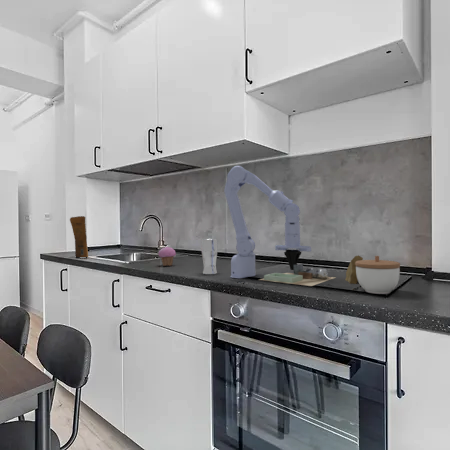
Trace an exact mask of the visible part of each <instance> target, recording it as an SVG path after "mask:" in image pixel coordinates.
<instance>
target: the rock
mask: <svg viewBox="0 0 450 450" xmlns="http://www.w3.org/2000/svg"><path fill="white" fill-rule="evenodd" d="M360 260H364V258H363V257H362V256H361V255H359V254H358V255H355V256H354V257H353V258H352V259H351V260H350V262H349V265H348V267H347V269H346V272H345V281H346V282H348V283H349V284H351V285H357V284H358V283H359V282H358V280H357V275H356V265H355V262H356V261H360Z"/></svg>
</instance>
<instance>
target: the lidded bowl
mask: <svg viewBox="0 0 450 450" xmlns="http://www.w3.org/2000/svg"><path fill="white" fill-rule="evenodd" d="M355 265H356V275H357V280H358V282H357V283H358V284H359V285H360V287H361V288H362V289H364V291H365V292H366V293H367V294H368V293H369V294H376V295H387V294H391V292H392V291H393V290H394V289H395V288H396V287H397V285H398V283H399V280H400V275H401V274H400V273H401V270H400V269H401V262H398V261H395V260H388V259H387V260H385V259H380V255H375V256H374V259H363V260H360V261H356V262H355Z"/></svg>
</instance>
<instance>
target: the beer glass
mask: <svg viewBox="0 0 450 450" xmlns="http://www.w3.org/2000/svg"><path fill="white" fill-rule="evenodd" d="M200 248H201V257H202V261H203V262H202V263H203V271H202V274H203V275H216V274H218V272H217V271H218V270H217V266H216V265H217V256H218V239H217V238H202V239H201V247H200Z"/></svg>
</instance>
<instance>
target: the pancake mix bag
mask: <svg viewBox="0 0 450 450" xmlns="http://www.w3.org/2000/svg"><path fill="white" fill-rule="evenodd" d="M69 222H70V226H71V229H72V233H73V237H74V250H75V251H74V252H75V253H74V254H75V255H74V257H75V256H76V257H88V258H89V251H88V240H87V238H88V237H87V227H86V225H87V224H86V216H83V215H82V216H81V215H80V216H70V218H69Z"/></svg>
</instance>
